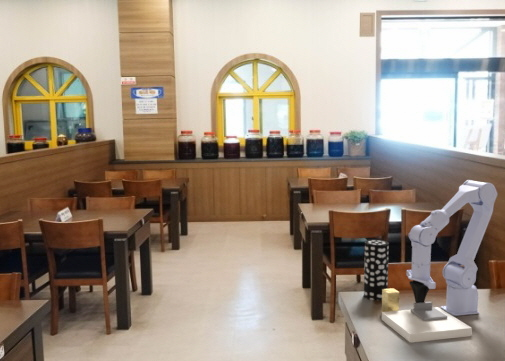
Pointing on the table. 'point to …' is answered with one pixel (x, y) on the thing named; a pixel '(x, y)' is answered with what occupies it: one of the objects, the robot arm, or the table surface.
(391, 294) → the peg
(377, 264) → the white-spotted black cylinder
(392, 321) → the socket base
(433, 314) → the panel
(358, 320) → the table surface
